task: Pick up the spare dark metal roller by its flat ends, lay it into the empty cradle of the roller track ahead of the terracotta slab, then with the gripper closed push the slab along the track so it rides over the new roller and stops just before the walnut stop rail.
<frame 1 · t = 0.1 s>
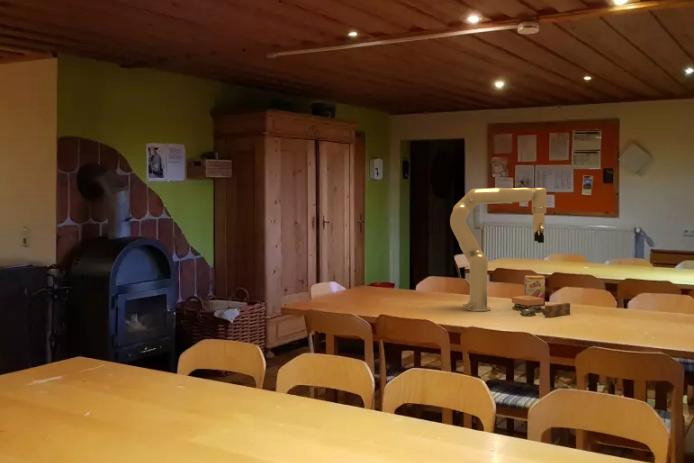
hand: (539, 241, 389), 37 cm above the table, tool pointing down, fingers open, 9 cm apart
slab: (527, 303, 392), point 3 cm above the table, touching roller track
roller track: (534, 310, 388), on the table
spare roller: (528, 315, 377), on the table
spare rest: (528, 315, 377), on the table
candy bar box: (534, 305, 407), on the table
stop rail: (557, 315, 373), on the table
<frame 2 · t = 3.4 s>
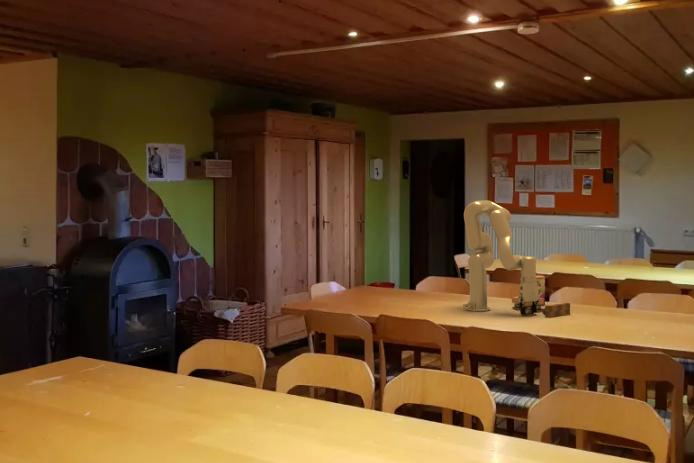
hand: (528, 313, 377), 1 cm above the table, tool pointing down, fingers closed on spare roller, 7 cm apart
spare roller: (528, 314, 377), on the table, tilted 25°, touching gripper
everything else where it was.
when the fingers open (2 cm above the table, at t = 8.8 s): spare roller moves 1 cm, on the table.
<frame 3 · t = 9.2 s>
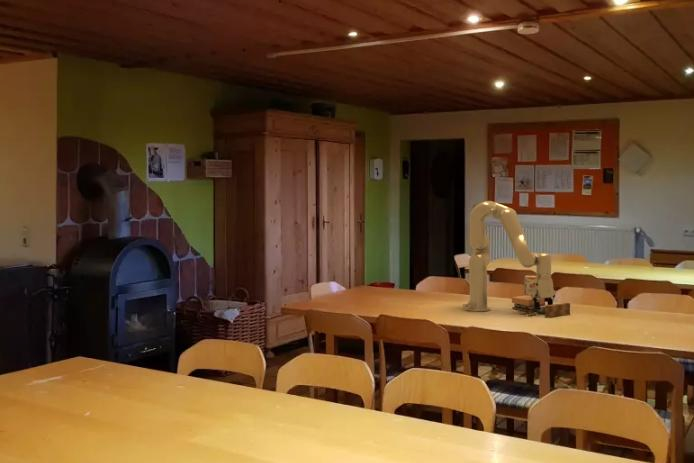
hand: (543, 308, 382), 3 cm above the table, tool pointing down, fingers open, 9 cm apart
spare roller: (542, 312, 382), on the table, tilted 25°
everything else where it was.
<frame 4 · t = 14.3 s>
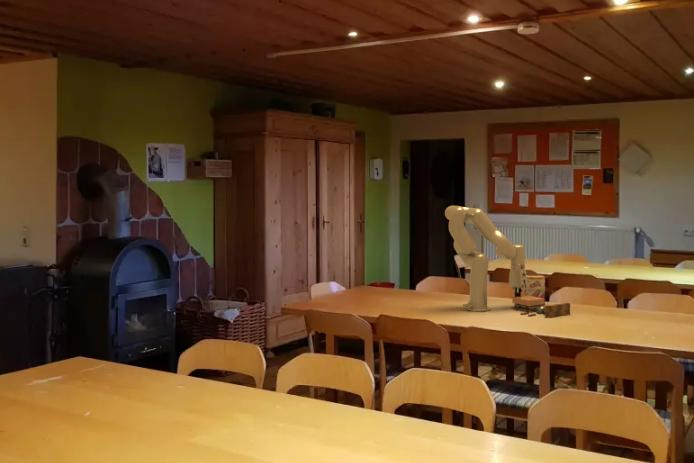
hand: (517, 299, 399), 4 cm above the table, tool pointing down, fingers closed
slab: (528, 303, 392), point 4 cm above the table, touching gripper
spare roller: (543, 313, 382), on the table
everything else where it was.
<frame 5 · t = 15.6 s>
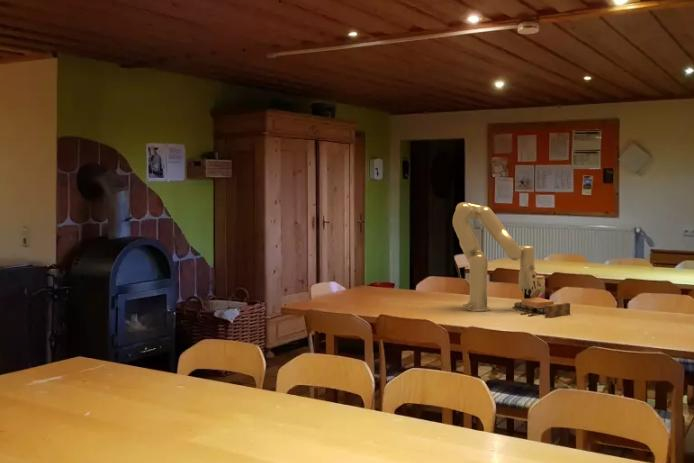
hand: (527, 301, 393), 4 cm above the table, tool pointing down, fingers closed
slab: (537, 305, 385), point 3 cm above the table, touching gripper, roller track, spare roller
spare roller: (542, 312, 382), on the table, tilted 31°, touching slab
everything else where it was.
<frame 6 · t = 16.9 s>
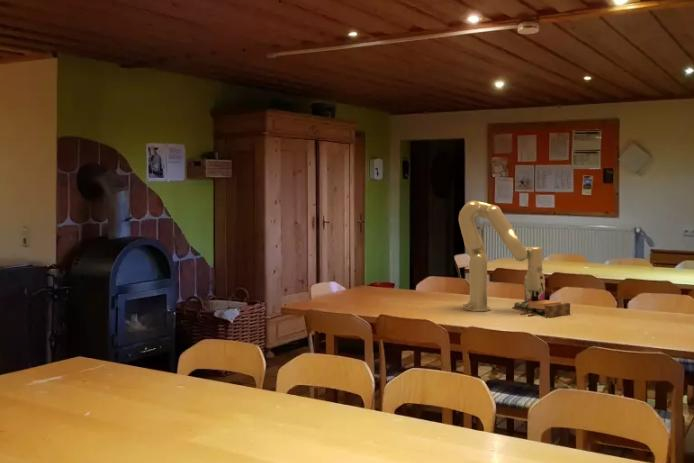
hand: (534, 303, 387), 4 cm above the table, tool pointing down, fingers closed
slab: (544, 307, 380), point 3 cm above the table, touching roller track, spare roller
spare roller: (542, 313, 382), on the table, tilted 23°, touching slab
everything else where it was.
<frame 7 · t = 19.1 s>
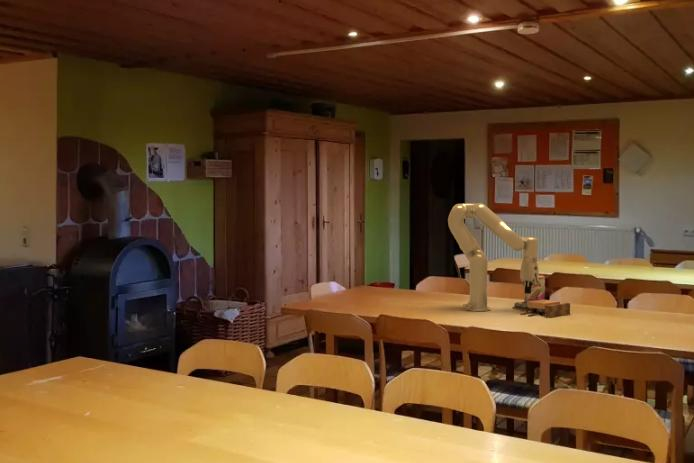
hand: (527, 293, 390), 9 cm above the table, tool pointing down, fingers closed
slab: (543, 307, 381), point 3 cm above the table, touching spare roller
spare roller: (543, 313, 382), on the table, tilted 5°, touching slab
everything else where it was.
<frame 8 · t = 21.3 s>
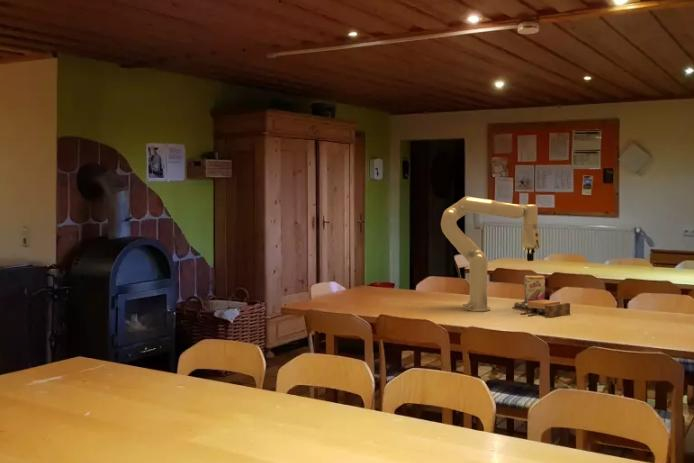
hand: (530, 260, 389), 27 cm above the table, tool pointing down, fingers closed
slab: (543, 307, 381), point 3 cm above the table, touching roller track
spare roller: (544, 313, 382), on the table
everything else where it was.
at the end: slab inside the target area (0.8 cm from its centre), point 3.3 cm above the table; slab tilted 3°; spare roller inside the target area (0.5 cm from its centre), on the table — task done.
